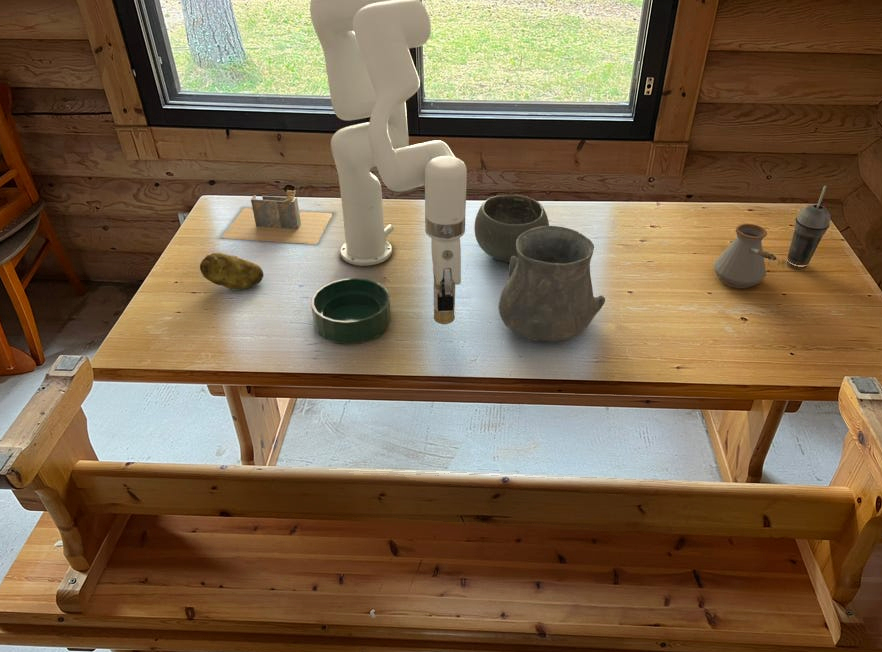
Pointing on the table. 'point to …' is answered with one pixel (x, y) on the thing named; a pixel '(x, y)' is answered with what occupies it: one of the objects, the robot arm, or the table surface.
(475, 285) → the table surface
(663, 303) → the table surface
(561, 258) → the vessel
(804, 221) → the beverage cup
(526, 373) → the table surface
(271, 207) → the architectural model on board
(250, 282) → the potato
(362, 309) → the green round dish
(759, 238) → the coffee pot
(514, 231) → the bowl
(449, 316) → the sprinkles bottle
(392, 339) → the table surface
